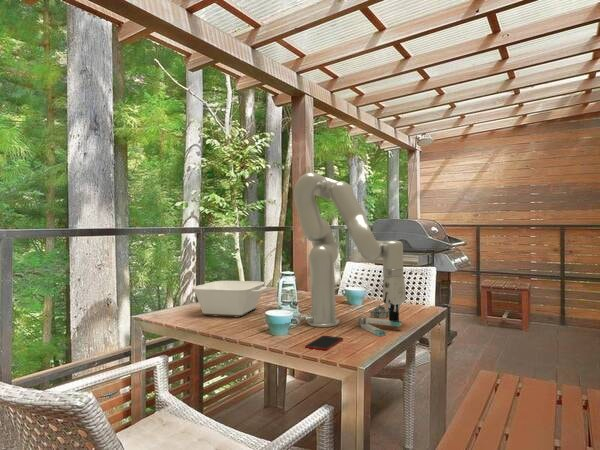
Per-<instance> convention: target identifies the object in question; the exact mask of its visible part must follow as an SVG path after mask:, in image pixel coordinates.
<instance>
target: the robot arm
mask: <svg viewBox="0 0 600 450" xmlns="http://www.w3.org/2000/svg"><path fill="white" fill-rule="evenodd" d="M315 196H317V197H321V198H323V199H327V200H329V201H332V202H333V204H334V206H335V207H336V210H337V212H338V213H339V215H340V217H341V219H342V220H343V223H344V224H345V227H346V229H347V231H348V232H349V234H350V236H351V239H352V242H353V243H354V245H355V246H356V248H357V250H358V252H359V254H360V255H361V257H362V258H363V259H365V260H366V261H368V262H374V261H376V260H379V259H382V278H383V280H382V282H383V283H382V302H383V304H385V305H384V307H385V309H388V311H389V317H388V320H396V321H400V313H399V312H400V307H401V305H402V304H403V303H405V302H406V300H407V299H406V298H407V296H406V294H407V293H406V283H405V278H404V277H405V276H404V245H403V241H400V240H384V241H383V240H377V239H376V237H375V236H374V234H373V232H372V230H371V229H370V226H369V224H368V221H367V218H366V214H365V211H364V209H363V208H362V206H361V204H360V202H359V201H358V199H357V198H356V196H355V194H354V189H353V187H352V186H351V184H349V183H348V182H346V181H343V180H335V179H332V178H329V177H326V176H323V175H321V174H319V173H317V172H312V171H311V172H305V173H304V174H302V175H301V176H299V178H298V179H297V181H296V182H295V185H294V188H293V201H294V204H295V208H296V212H297V216H298V219H299V222H300V225H301V229H302V232H303V236H304V238H305V239H307V241H310V242H311V244H312V248H311V250H310V252H309V253H308V254H309V255H308V264H309V275H310V306H311V308H310V309H311V310H310V311H308V313H307V314H299V320H300V321H304V320H305V322H306V321H307V324H308V325H309V326H311V327H315V328H316V327H318V328H328V327H335V326H338V325H340V319H339V318H336V284H335V283H336V282H335V281H336V280H335V279H336V278H335V267H334V263H336V262H337V259H338V257H339V251H338V248H337V244H336V241H335V238H334V235H333V232H332V229H331V226H330V224H329V223H328V221H326V220H325V219H324V218H322V215H321V213H320V208H319V205H318V204H317V201H316V197H315Z"/></svg>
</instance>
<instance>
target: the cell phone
mask: <svg viewBox="0 0 600 450" xmlns="http://www.w3.org/2000/svg"><path fill="white" fill-rule="evenodd" d="M343 340H344V338H343V337H339V336H331V335H321V336H319V337H318V338H316V339H314V340H312V341H311V342H310V343H307V344H306V345H305V346H304V348H305V349H306V348H309V349H308V350H313V349H315V350H314V351H320V350H322V351H321V352H327V351H329V350H330V349H332V348H333V347H335V346H336V345H338V344H340V343H341V342H343Z"/></svg>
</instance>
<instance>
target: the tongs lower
mask: <svg viewBox="0 0 600 450" xmlns="http://www.w3.org/2000/svg"><path fill="white" fill-rule="evenodd" d="M366 319H367V318H366V317H365V316H359V317H358V327H359V328H362V329H364V330H366V331H368V332H370V333H372V334H374V335H375V336H377V337H383V336H384V337H385V336H386V331H385V330H383V329H382V328H378V327H376V326H375V325H372V324H371V323H366Z"/></svg>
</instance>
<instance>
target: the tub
mask: <svg viewBox="0 0 600 450" xmlns="http://www.w3.org/2000/svg"><path fill="white" fill-rule="evenodd" d="M264 285H265V282H264V281H257V280H255V281H254V280H215V281H211V282H207V283H204V284H199V285H195V286H193V288H192V291H194V293H195V296H196V299H197V301H198V304H199V306H200V309H201V311H202V312H201V313H202V314H203V316H205V315H218V316H238V317H237V318H241V317H240V316H242V317H243V315H244V316H245V315H247V314H249V313H251V312H253V311H255V310H256V309H257V307H258V303H259V300H260V299H261V294H262V293H263V292H265V291H267V289H268V287H267V286H264ZM254 309H255V310H254ZM252 310H253V311H252ZM250 311H251V312H250ZM248 312H249V313H248Z"/></svg>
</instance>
